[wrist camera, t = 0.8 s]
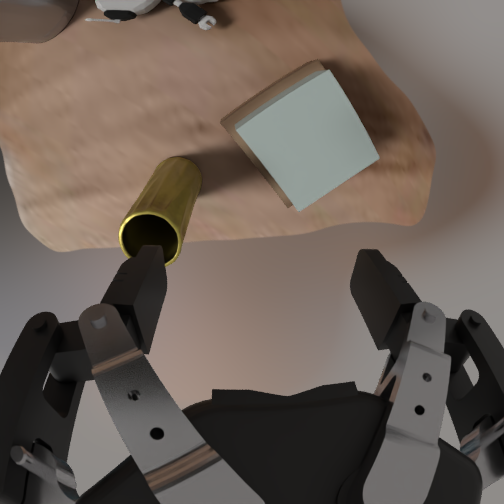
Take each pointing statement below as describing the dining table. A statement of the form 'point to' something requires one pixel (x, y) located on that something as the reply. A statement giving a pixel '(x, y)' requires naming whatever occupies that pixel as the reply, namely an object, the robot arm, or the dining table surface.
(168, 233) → the vase
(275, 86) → the bottom brick
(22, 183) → the dining table surface
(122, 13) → the robot toy
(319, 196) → the top brick
